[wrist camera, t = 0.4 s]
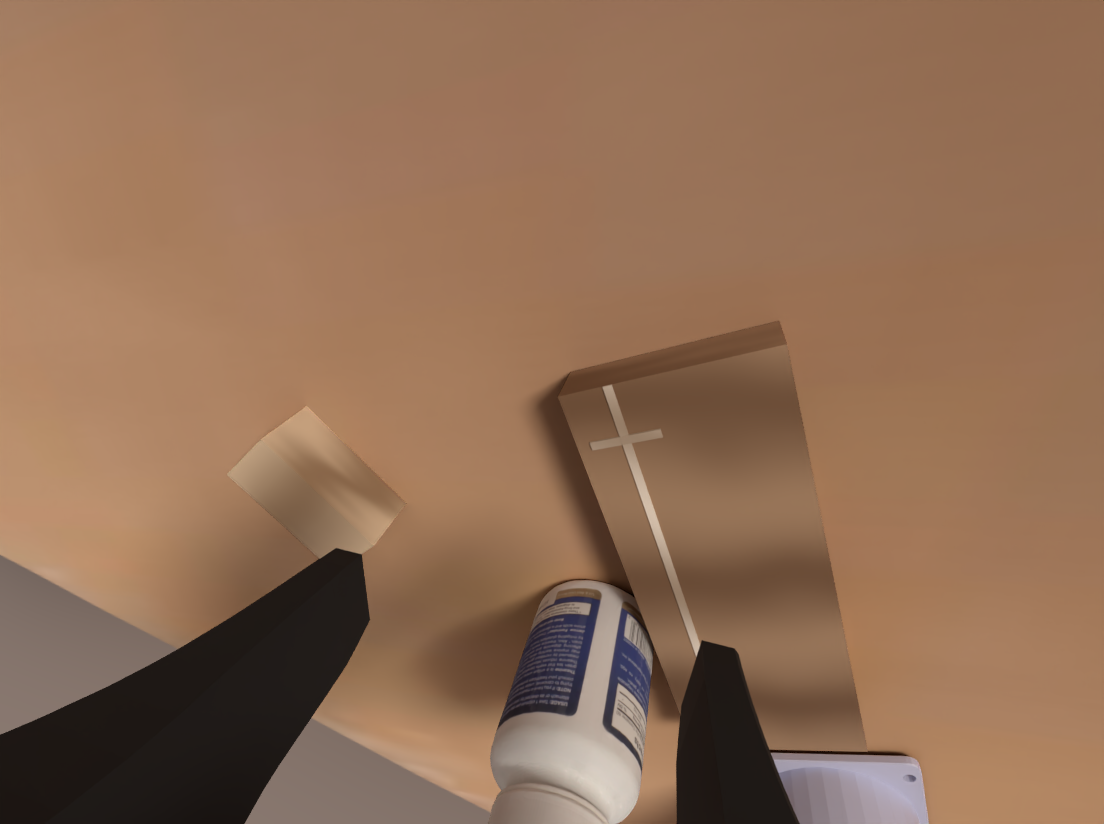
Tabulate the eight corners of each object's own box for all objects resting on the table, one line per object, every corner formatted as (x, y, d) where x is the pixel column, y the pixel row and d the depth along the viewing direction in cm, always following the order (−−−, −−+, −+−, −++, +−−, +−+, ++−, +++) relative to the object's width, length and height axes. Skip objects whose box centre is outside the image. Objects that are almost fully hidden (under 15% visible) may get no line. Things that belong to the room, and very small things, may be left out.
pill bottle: (528, 634, 27) (449, 868, 19) (554, 559, 24) (474, 794, 16) (634, 674, 26) (601, 933, 18) (673, 602, 24) (655, 867, 15)
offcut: (408, 501, 25) (373, 545, 22) (371, 528, 26) (334, 572, 24) (309, 403, 24) (260, 439, 21) (276, 437, 25) (226, 474, 23)
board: (856, 705, 24) (868, 753, 22) (693, 706, 26) (692, 749, 25) (779, 320, 17) (787, 344, 15) (570, 372, 20) (557, 397, 18)
